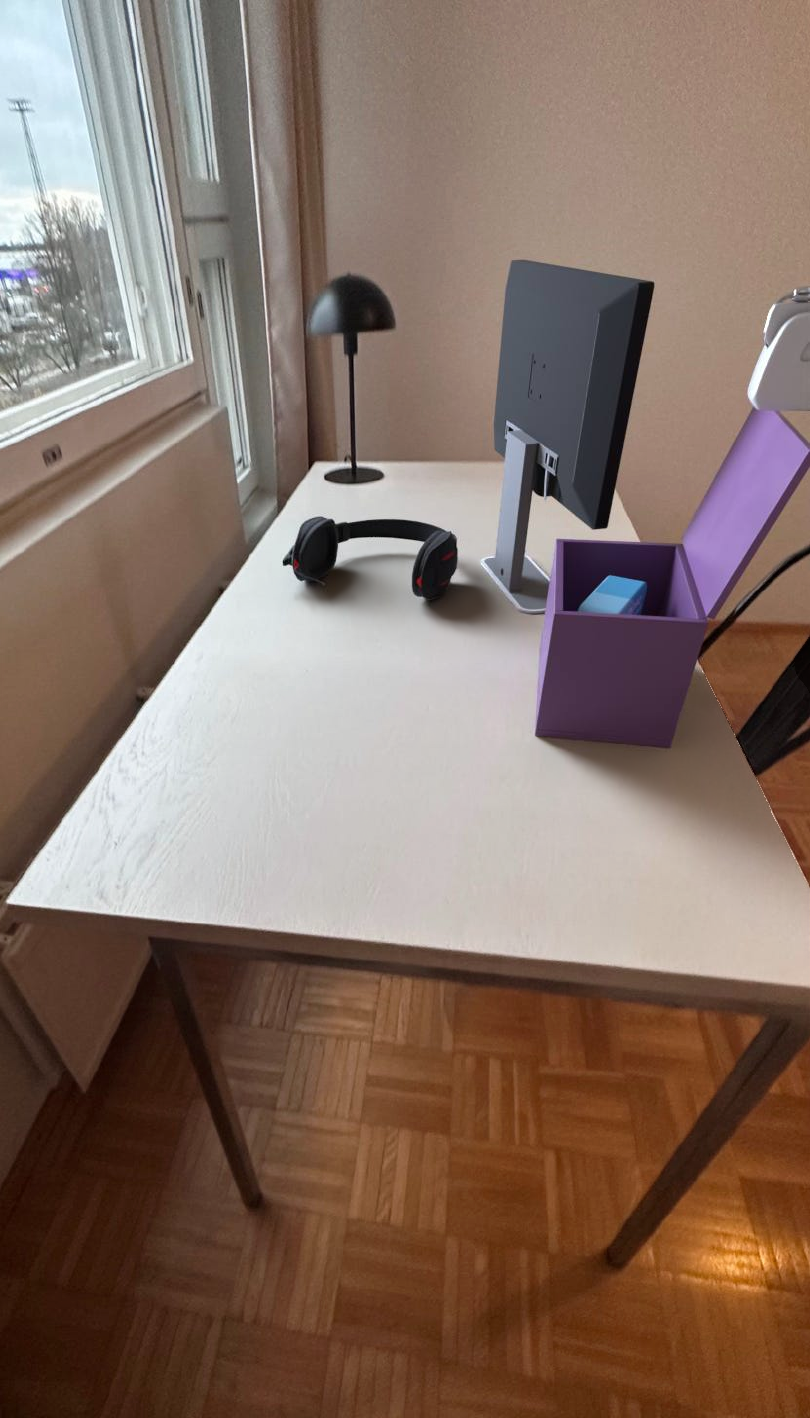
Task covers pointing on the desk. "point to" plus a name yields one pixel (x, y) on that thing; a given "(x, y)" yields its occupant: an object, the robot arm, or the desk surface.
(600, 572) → the file box
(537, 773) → the desk surface
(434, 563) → the headset
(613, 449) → the computer monitor
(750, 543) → the lid
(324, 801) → the desk surface
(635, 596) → the light blue rounded block
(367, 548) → the desk surface
